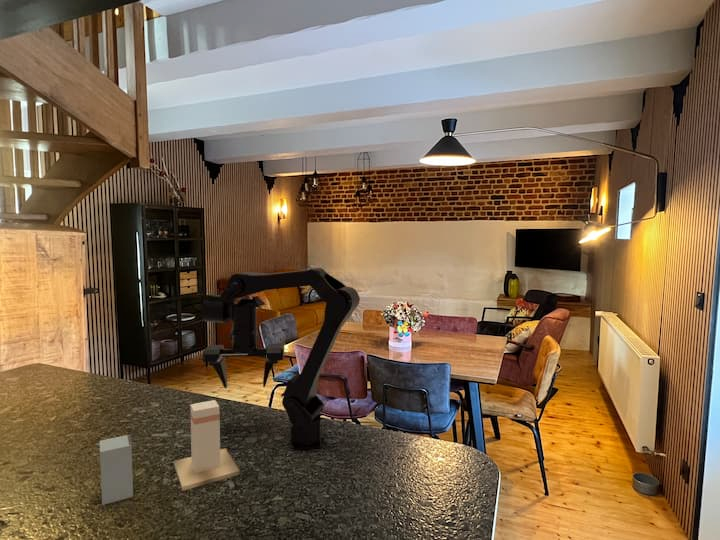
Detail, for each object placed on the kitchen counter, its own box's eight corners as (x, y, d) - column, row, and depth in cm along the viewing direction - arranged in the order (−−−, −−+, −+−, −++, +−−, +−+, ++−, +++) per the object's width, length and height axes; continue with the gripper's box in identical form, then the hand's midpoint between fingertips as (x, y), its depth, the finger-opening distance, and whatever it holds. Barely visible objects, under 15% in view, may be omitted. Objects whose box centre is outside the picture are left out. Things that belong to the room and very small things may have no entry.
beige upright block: (216, 458, 93) (215, 399, 92) (220, 466, 90) (219, 406, 89) (191, 464, 91) (190, 404, 90) (195, 473, 87) (193, 411, 86)
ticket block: (131, 483, 85) (129, 433, 84) (133, 496, 81) (131, 444, 80) (101, 491, 82) (99, 439, 81) (102, 505, 78) (99, 451, 77)
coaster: (225, 451, 98) (225, 448, 98) (239, 474, 88) (239, 470, 88) (173, 464, 92) (173, 461, 92) (182, 490, 83) (182, 486, 82)
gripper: (285, 317, 113) (285, 375, 114) (212, 318, 111) (212, 377, 112) (282, 326, 102) (283, 390, 103) (201, 327, 100) (202, 392, 101)
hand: (245, 387), depth 105 cm, fingers open, 9 cm apart
